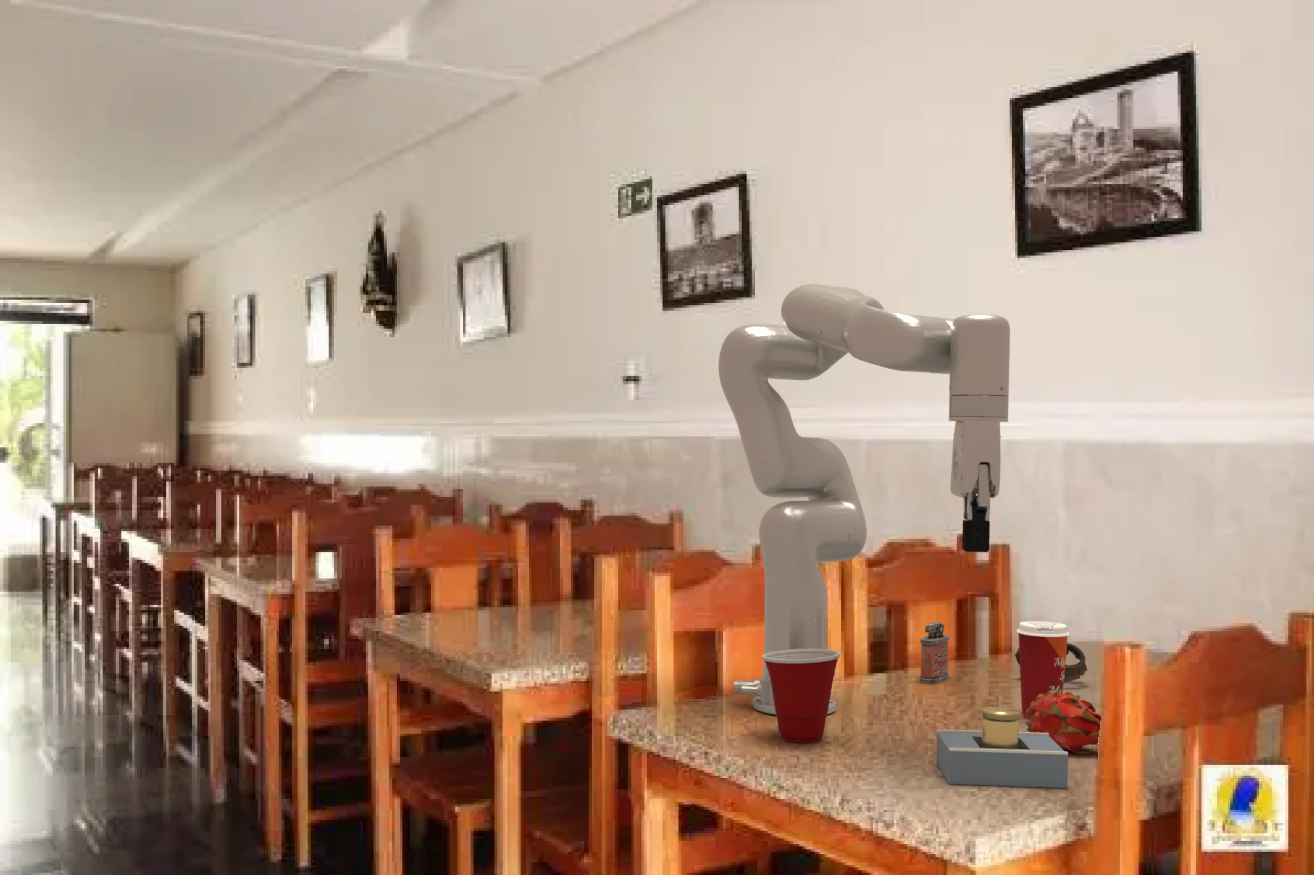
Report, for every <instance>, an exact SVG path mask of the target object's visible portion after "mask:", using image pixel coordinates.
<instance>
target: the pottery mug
mask: <svg viewBox="0 0 1314 875" xmlns="http://www.w3.org/2000/svg"><path fill="white" fill-rule="evenodd" d="M1069 653H1072V655H1073V656H1074V657H1075V659H1077V660H1079V661H1078V662H1077V663H1075V664H1065V676H1064V683H1067V682H1072V681H1075V680H1080V678H1081V677H1083V676H1084V675H1085V673H1086V672H1087V671H1088V667H1087V663H1086V656H1085V653H1084V652H1083V651H1082V650H1081V648H1079V647H1078V646H1076V645H1075V644H1073V643H1068V642H1067V649H1066V656H1068V654H1069ZM1014 657H1015V660H1016V662H1017V664H1018V665H1019V666H1020V656H1019V647H1018V648H1017V651H1016V652H1015V654H1014Z"/></svg>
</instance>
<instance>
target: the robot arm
mask: <svg viewBox="0 0 1314 875" xmlns="http://www.w3.org/2000/svg"><path fill="white" fill-rule="evenodd" d="M780 308H781V310H780V313H781V315H780V316H781V319H782V322H783V324H784V325H778V324H777V325H776V324H768V323H767V324H764V323H754V324H753V323H752V324H745V325H742V326H739V327H736V328H735V329H733V330H732V331H730V333H729V334H727V336H726V337H725V339H724V340H723V343H722V344H721V346H720V351H719V356H718V377H719V381H720V382H719V383H720V385H721V390H722V392H723V395H724V398H725V400H726V401H727V403H728V405H729V408H730V410H731V411H732V414H733V416H734V419H735V422H736V425H737V427H738V432H739V435H740V439H741V443H742V445H743V450H744V453H745V457H746V461H747V463H748V467H749V470H750V474H751V477H752V479H753V482H754V484H755V487H756V488H757V490H758V491H759V493H760V494H762V495H764V496H767V497H770V498H780V499H783V498H785V499H786V498H787V499H788V498H790V499H791V498H793V499H794V498H795V499H796V498H798V499H799V498H807V499H808V500H790V501H784V502H780V503H777V504H775V505H773V506H771V507H770V508H769V509H768V510H766V511H765V513H764V514H763V515H762V518H761V519H760V524H759V528H758V531H759V532H758V537H759V544H760V550H761V555H762V556H761V557H762V562H763V571H764V572H763V573H764V574H763V575H764V626H763V627H764V630H763V635H764V636H763V654H766V653H769V652H774V651H781V650H792V649H828V648H827V647H828V645H827V643H828V642H827V640H828V590H827V585H826V583H825V579H824V578H823V575H822V574H821V572H820V569H819V567H818V564H821V563H832V562H833V563H834V562H835V563H836V562H843V561H849V560H850V561H851V560H853V559H854V558H855V557H858V555H859V554H861V552H862V551H863V550H864V548H865V544H866V542H867V533H868V532H867V523H866V518H865V514H864V511H863V507H862V504H861V501H860V498H859V495H858V491H857V488H856V485H855V482H854V479H853V476H852V473H851V470H850V466H849V463H848V461H847V458H846V456H845V454H844V453H843V452H842V450H841V449H840V448H839V447H838V445H836V444H835V443H834V442H832V441H831V440H829V439H827V438H826V439H825V438H822V437H804V436H802V435H800V434H799V433H798V432H797V430H796V428H795V426H794V422H793V420H792V415H791V411H790V409H789V407H788V406H787V403H786V402H785V400H784V399H783V397H782V396H781V394H779V392H778V391H776V389H775V388H774V387H773V386H772V385H771V384H770V383H769V379H774V380H789V381H790V380H791V381H809V380H813V379H815V378H818V377H820V376H822V375H823V374H824V373H825V372H826V371H828V370H829V369H830V368H832V367H833V366H834V365H835V364H836V363H837V362H839V361H840V360H841V359H842V358H844V356H846V355H847V354H850V355H851V357H853V358H854V359H857V360H860V361H861V362H865V363H868V364H872V365H875V366H878V367H882V368H885V369H890V370H893V371H899V372H910V373H911V372H913V373H928V374H929V373H930V374H940V375H941V374H943V375H949V384H948V385H949V386H948V387H949V388H948V389H949V392H948V394H949V395H948V397H949V398H948V421H949V422H955V424H954V428H953V430H954V431H953V440H952V451H951V468H950V469H951V473H950V485H949V486H950V487H949V488H950V493H951V494H952V495H954V496H956V497H959V498H962V499H963V506H962V508H963V509H962V510H963V511H962V512H963V513H962V514H963V520H962V537H961V538H962V540H961V541H962V543H961V549H962V551H964V552H967V553H988V552H989V551H990V534H991V533H990V532H991V530H990V529H991V527H990V526H991V522H990V514H991V498H992V499H995V497H997V496H999V493H1000V487H1001V485H1000V484H1001V459H1002V458H1001V454H1002V453H1001V452H1002V451H1001V423H1008V422H1009V395H1010V394H1009V393H1010V352H1011V351H1010V347H1011V346H1010V345H1011V329H1010V328H1011V327H1010V323H1009V321H1008V319H1007V318H1005V317H1004V316H1001V315H996V314H967V315H960V316H957V317H956V318H947V317H936V316H927V315H920V314H919V315H917V314H907V313H906V314H905V313H900V312H895V311H890V310H885V309H884V307H883V305H882V303H881V302H880V301H879V300H877V299H876V298H874V297H872V296H868V295H865V294H864V293H863V292H861V291H860V290H858V289H855V288H851V287H842V286H834V285H825V284H824V285H823V284H818V283H817V284H814V283H811V284H804V285H800V286H798V287H795V288H794V289H792V290H791V291H789V293H787V295H786V296H785V297H784V299H783V301H782V303H781V307H780ZM736 693H737V694H741V695H754V696H755V697H754V698H753V700H752V707H753V708H754V709H755V710H756V711H759V712H760V713H761V712H762V713H765V714H771V715H775V716H777V714H776V712H775V706H774V699H773V693H772V687H771V680H770V676H769V672H768V669H767V666H766V663H765V661H764V660H763V673H762V674H760V678H754V680H753V681H751V680H746V679H745V680H743V679H739V680H737V679H733V694H736ZM836 710H837V703H836V701H835V700H834V699H831V698H830V702H829V708H828V714H827V715H829V714H832V713H834V712H836Z"/></svg>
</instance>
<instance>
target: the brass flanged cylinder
mask: <svg viewBox="0 0 1314 875" xmlns="http://www.w3.org/2000/svg"><path fill="white" fill-rule="evenodd" d="M1019 720H1020V711H1019V710H1017V709H1015V708H1011V707H1005V706H986V707H983V708H982V709H981V731H982V736H981V748H999V749H1018V732H1019Z"/></svg>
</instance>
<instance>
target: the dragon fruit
mask: <svg viewBox="0 0 1314 875" xmlns="http://www.w3.org/2000/svg"><path fill="white" fill-rule="evenodd" d="M1059 691H1060V690H1057V691H1048V692H1047V694H1039V695H1038V696H1037V697H1036V699H1035V700H1034V701H1033V702H1031V704H1030V706H1029V709H1027V711H1026V717H1027V718H1028V719H1027V718H1026V719H1027V721H1026V722H1025V723H1024V724H1025V725H1027V728H1026V732H1033V733H1049V737H1050V738H1052V739H1053V740H1054V741H1055V742H1056V743H1057V744H1058V745H1059V746H1060V747H1061V748H1062V749H1063V750H1068V751H1070V752H1072V753H1074V754H1077V755H1087V754H1091V753H1093V751H1092V750H1091V749H1083V750H1081V749H1082V748H1083V747H1086V746H1089V745H1091V746H1092V745H1093V746H1094V745H1095V746H1098V745H1097V743H1098V737H1099V730H1100V721H1101V715H1102V714H1101V713H1098V712H1097V710H1096V708H1095V706H1094V705H1093V704H1092V703H1091V702H1090V701H1087V700H1084V699H1080V698H1081V696H1080V695H1079V694H1076V695H1075V694H1074V693H1072V692H1070V691H1065V692H1063V694H1062V695H1061V694H1060V693H1059Z"/></svg>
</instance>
